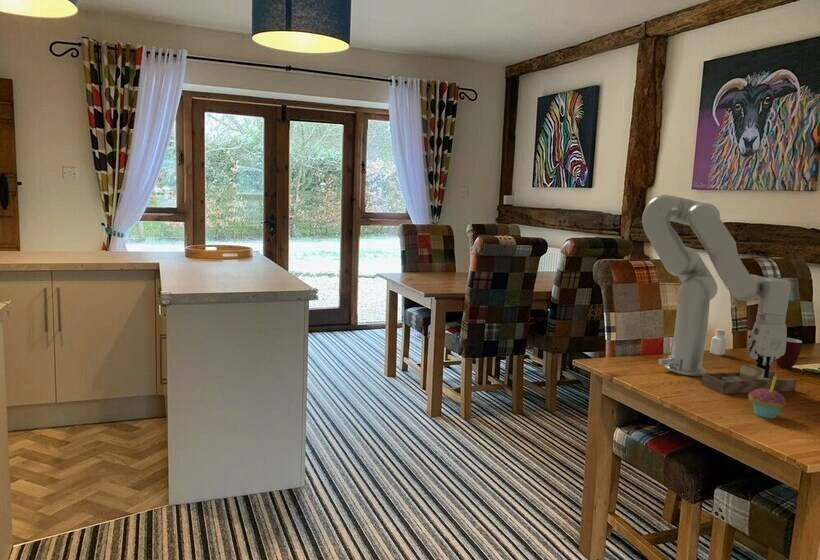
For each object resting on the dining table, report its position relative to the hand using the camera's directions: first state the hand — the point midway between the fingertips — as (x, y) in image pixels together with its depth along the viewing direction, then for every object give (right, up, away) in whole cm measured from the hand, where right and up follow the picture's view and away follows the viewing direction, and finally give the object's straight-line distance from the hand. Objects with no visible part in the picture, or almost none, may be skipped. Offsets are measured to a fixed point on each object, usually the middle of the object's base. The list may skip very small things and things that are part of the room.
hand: (761, 376), depth 184 cm
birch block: (-4, -1, -2) cm, 5 cm away
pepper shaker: (+6, +2, +39) cm, 40 cm away
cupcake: (-14, -6, -25) cm, 29 cm away
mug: (+23, -1, +25) cm, 34 cm away
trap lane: (-5, -3, -1) cm, 6 cm away
